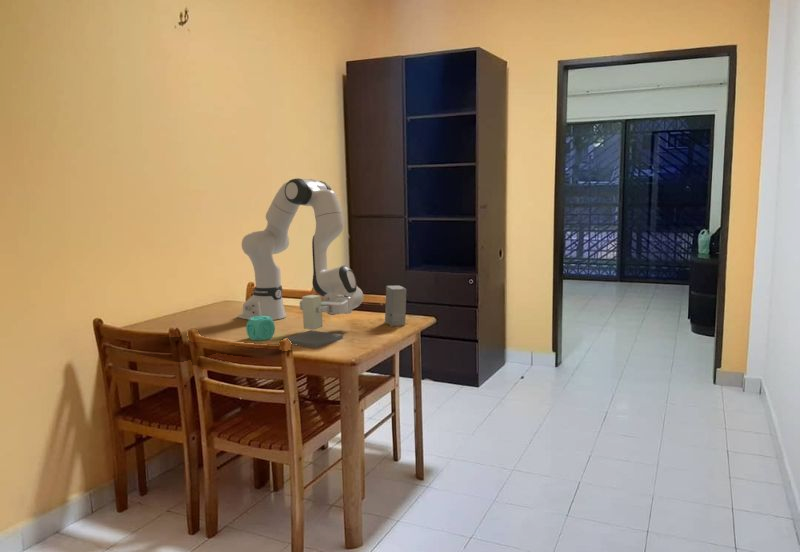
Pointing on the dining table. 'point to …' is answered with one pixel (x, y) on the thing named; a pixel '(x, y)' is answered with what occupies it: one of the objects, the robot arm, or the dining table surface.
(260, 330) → the decorative dice
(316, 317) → the sage block
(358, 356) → the dining table surface
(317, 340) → the slate board
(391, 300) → the skincare box
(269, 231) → the robot arm
